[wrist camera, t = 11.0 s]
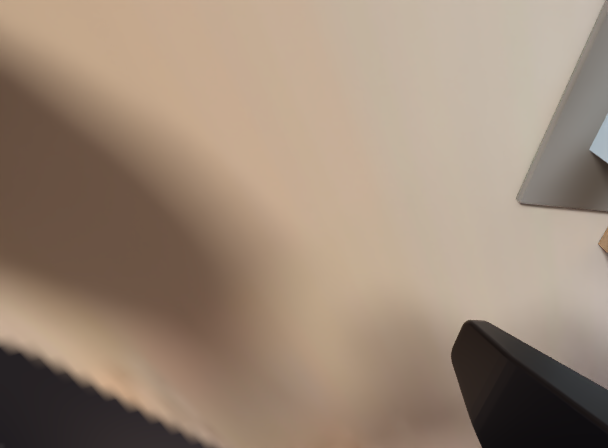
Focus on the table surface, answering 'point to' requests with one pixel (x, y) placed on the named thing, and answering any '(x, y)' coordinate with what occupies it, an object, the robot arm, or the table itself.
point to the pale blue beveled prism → (601, 141)
